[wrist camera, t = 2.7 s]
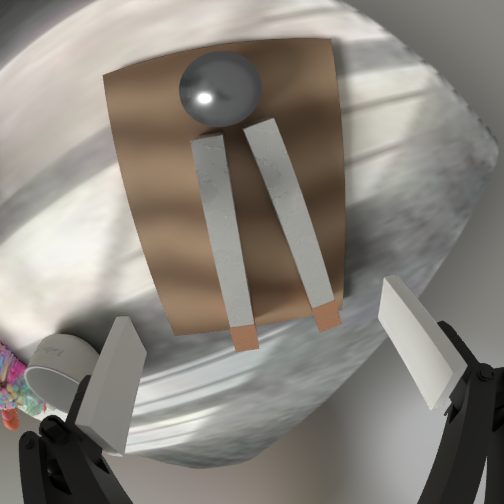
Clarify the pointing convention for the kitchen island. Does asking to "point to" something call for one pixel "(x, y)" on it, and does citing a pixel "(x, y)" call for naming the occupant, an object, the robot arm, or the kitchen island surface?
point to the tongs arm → (293, 218)
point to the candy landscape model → (15, 390)
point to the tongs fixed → (223, 172)
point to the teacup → (60, 369)
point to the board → (242, 177)
